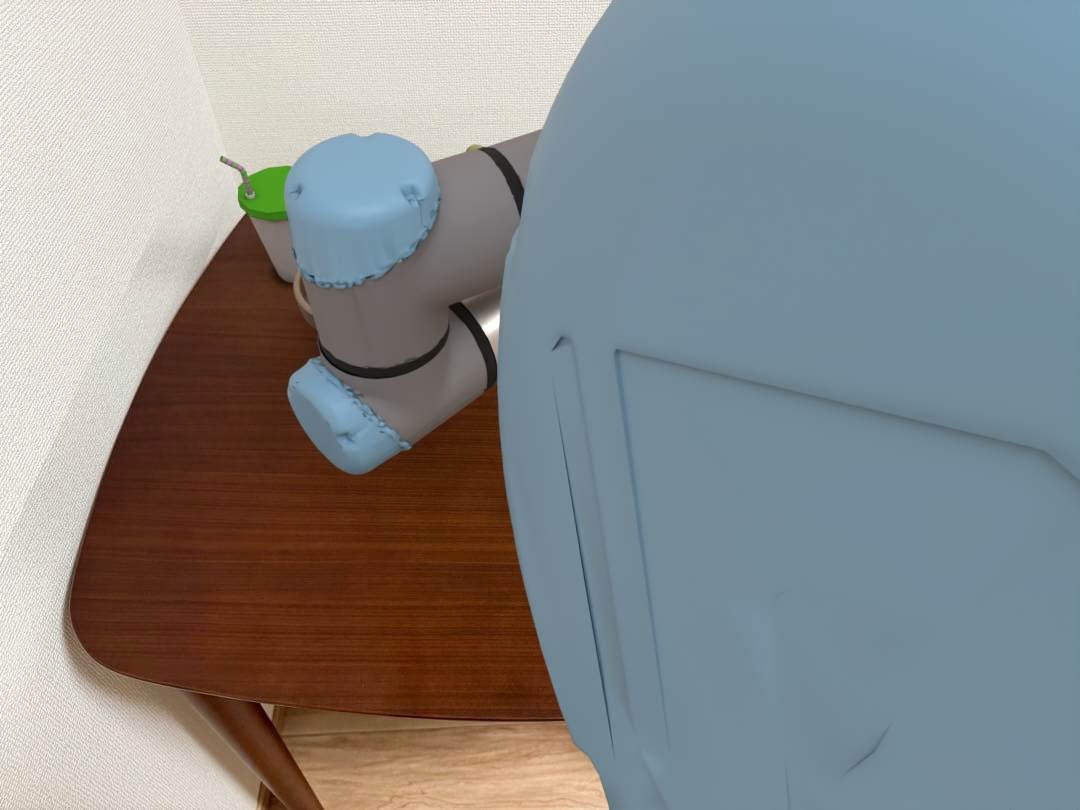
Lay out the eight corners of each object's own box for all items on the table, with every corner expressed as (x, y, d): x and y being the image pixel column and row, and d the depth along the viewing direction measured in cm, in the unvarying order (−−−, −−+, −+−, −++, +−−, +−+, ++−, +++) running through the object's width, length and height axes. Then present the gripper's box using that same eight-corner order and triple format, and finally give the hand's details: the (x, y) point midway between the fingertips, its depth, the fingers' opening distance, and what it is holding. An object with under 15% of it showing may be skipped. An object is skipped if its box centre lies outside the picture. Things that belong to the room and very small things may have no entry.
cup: (345, 249, 90) (318, 126, 79) (326, 297, 85) (294, 173, 74) (275, 243, 91) (239, 120, 79) (252, 291, 86) (210, 167, 74)
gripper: (398, 264, 64) (584, 157, 74) (640, 448, 53) (822, 293, 63) (386, 182, 58) (589, 78, 68) (654, 369, 47) (852, 212, 57)
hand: (701, 181), depth 65 cm, fingers open, 13 cm apart
